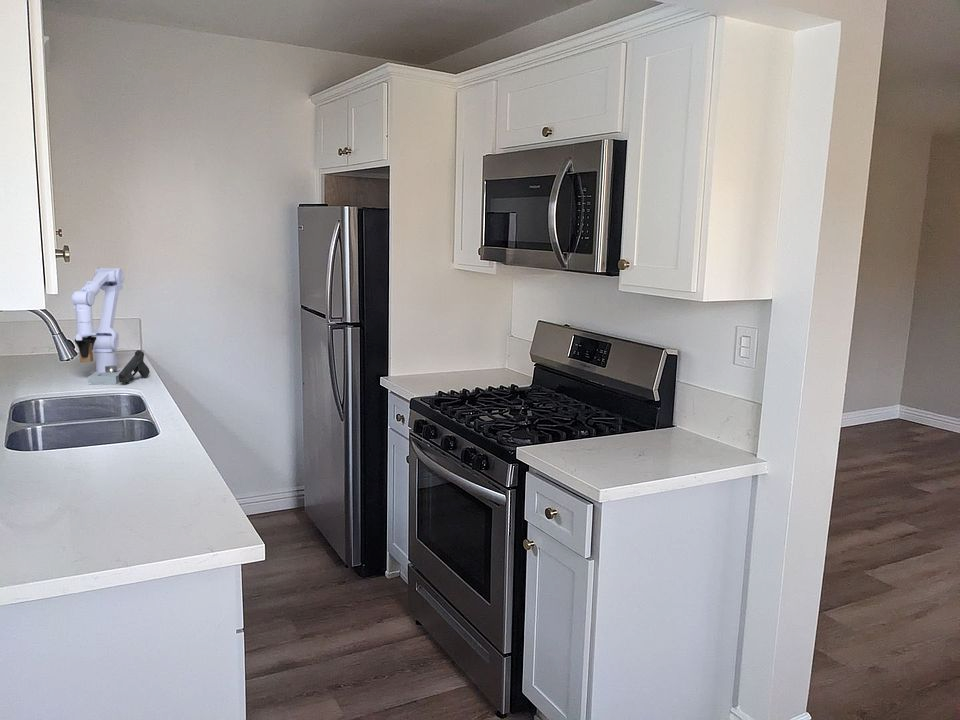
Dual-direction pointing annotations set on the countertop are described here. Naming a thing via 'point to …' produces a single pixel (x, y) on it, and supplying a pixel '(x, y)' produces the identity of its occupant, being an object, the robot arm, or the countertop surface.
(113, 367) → the round bit
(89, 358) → the square bit
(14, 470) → the countertop surface
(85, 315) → the robot arm
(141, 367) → the handgun
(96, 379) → the socket block
